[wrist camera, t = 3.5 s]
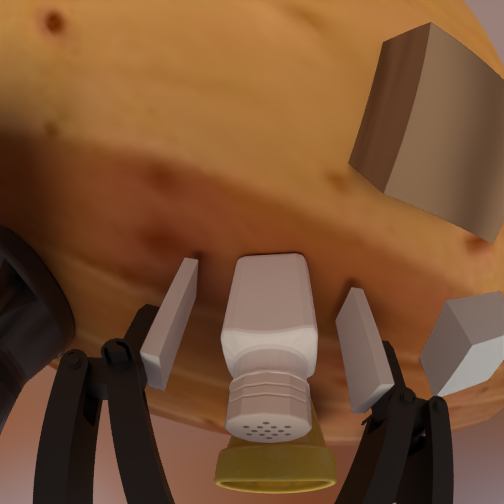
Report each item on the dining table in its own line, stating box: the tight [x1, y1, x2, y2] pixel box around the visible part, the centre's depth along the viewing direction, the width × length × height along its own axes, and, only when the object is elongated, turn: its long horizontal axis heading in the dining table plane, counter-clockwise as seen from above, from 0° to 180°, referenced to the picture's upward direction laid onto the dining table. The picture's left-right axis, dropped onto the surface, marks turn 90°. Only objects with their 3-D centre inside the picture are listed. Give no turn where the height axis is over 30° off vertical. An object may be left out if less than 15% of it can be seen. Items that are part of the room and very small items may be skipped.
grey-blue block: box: [419, 291, 504, 397], centre depth 16 cm, size 7×7×5 cm
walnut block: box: [349, 22, 504, 244], centre depth 9 cm, size 7×7×5 cm
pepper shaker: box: [220, 253, 318, 443], centre depth 12 cm, size 4×4×10 cm
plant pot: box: [214, 397, 337, 493], centre depth 20 cm, size 10×10×10 cm
